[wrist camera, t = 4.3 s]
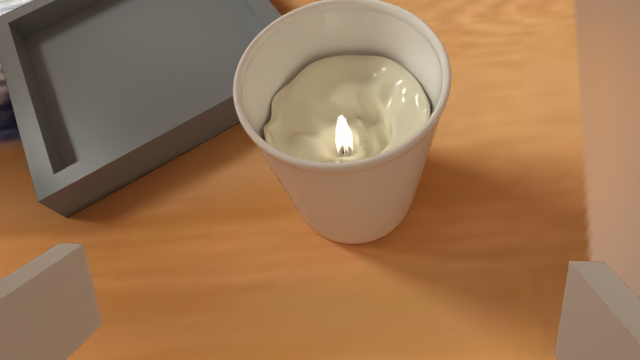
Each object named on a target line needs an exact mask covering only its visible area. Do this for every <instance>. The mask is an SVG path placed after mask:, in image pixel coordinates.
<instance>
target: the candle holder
mask: <svg viewBox="0 0 640 360" xmlns="http://www.w3.org/2000/svg"><path fill="white" fill-rule="evenodd" d="M450 87H451V68H450V62H449V58H448V55H447V52H446V50H445V48H444V46H443V44H442V42H441V40H440V39H439V37H438V36H437V34H436V33H435V32H434V31H433V30H432V29H431V28H430V27H429V26H428V25H427V24H426V23H425V22H424V21H423V20H421V19H420V18H419V17H417V16H416V15H414V14H413V13H411V12H409V11H407V10H405V9H403V8H401V7H399V6H396V5H394V4H391V3H387V2H384V1H380V0H322V1H318V2H314V3H311V4H308V5H305V6H302V7H299V8H297V9H295V10H292V11H290V12H288V13H286V14H285V15H283V16H281V17H279V18H278V19H276V20H275V21H273V22H272V23H271V24H269V25H268V26H267V27H266V28H264V29H263V30H262V31H261V32H260V33H259V34H258V35H257V36H256V37H255V38H254V39H253V41H252V42H251V43H250V44H249V46H248V47H247V49H246V50H245V52H244V53H243V55H242V57H241V59H240V61H239V64H238V66H237V69H236V73H235V77H234V83H233V100H234V105H235V110H236V113H237V116H238V118H239V121H240V123H241V125H242V126H243V128H244V130H245V131H246V133H247V134H248V136H249V137H250V138H251V139H252V140H253V141H254V143H255V144H256V146H257V147H258V149H259V151H260V152H261V154H262V155H263V157H264V159H265V160H266V162H267V163H268V165H269V167H270V168H271V170H272V171H273V173H274V175H275V176H276V178H277V179H278V181H279V183H280V184H281V186H282V188H283V189H284V191H285V192H286V194H287V196H288V197H289V199H290V200H291V202H292V204H293V205H294V207H295V208H296V210H297V211H298V213H299V214H300V216H301V217H302V219H303V220H304V221H305V222H306V223H307V225H308V226H309V227H310V228H312V229H313V230H314V231H315V232H317V233H318V234H320V235H321V236H323V237H325V238H327V239H329V240H332V241H335V242H339V243H345V244H360V243H367V242H371V241H374V240H377V239H379V238H381V237H383V236H385V235H387V234H388V233H390V232H391V231H392V230H394V229H395V228H396V227H397V226H398V225H399V224H400V223H401V222H402V221H403V219H404V218H405V216H406V215H407V213H408V211H409V209H410V207H411V205H412V202H413V200H414V197H415V194H416V191H417V188H418V185H419V182H420V179H421V176H422V173H423V169H424V166H425V163H426V160H427V157H428V154H429V151H430V147H431V144H432V141H433V138H434V135H435V132H436V129H437V125H438V122H439V119H440V116H441V115H442V113H443V110H444V108H445V106H446V103H447V100H448V97H449V93H450Z"/></svg>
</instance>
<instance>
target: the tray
mask: <svg viewBox="0 0 640 360" xmlns="http://www.w3.org/2000/svg"><path fill="white" fill-rule="evenodd" d="M281 16H282V15H281V14H280V13H279V12H278V11H277V9H276V8H275V7H274V6H273V5H272V3H271V2H270V1H269V0H33V1H31V2H29V3H27V4H25V5H22V6H20V7H18V8H16V9H14V10H12V11H10V12H8V13H5V14H3V15H1V16H0V61H1V65H2V69H3V72H4V76H5V80H6V84H7V87H8V91H9V95H10V99H11V103H12V106H13V110H14V114H15V118H16V121H17V125H18V129H19V133H20V136H21V140H22V144H23V148H24V151H25V155H26V159H27V163H28V166H29V170H30V174H31V178H32V181H33V185H34V189H35V193H36V197H37V200H38V202H39V203H41V204H43V205H45V206H46V207H48V208H50V209H52V210H54V211H55V212H57V213H59V214H61V215H62V216H64V217H66V218H68V217H70V216H72V215H73V214H75V213H77V212H79V211H81V210H82V209H84V208H86V207H88V206H90V205H91V204H93V203H95V202H97V201H99V200H100V199H102V198H104V197H106V196H108V195H109V194H111V193H113V192H115V191H117V190H119V189H120V188H122V187H124V186H126V185H128V184H129V183H131V182H133V181H135V180H137V179H138V178H140V177H142V176H144V175H146V174H147V173H149V172H151V171H153V170H155V169H156V168H158V167H160V166H162V165H164V164H165V163H167V162H169V161H171V160H173V159H175V158H176V157H178V156H180V155H182V154H184V153H185V152H187V151H189V150H191V149H193V148H194V147H196V146H198V145H200V144H202V143H203V142H205V141H207V140H209V139H211V138H212V137H214V136H216V135H218V134H220V133H222V132H223V131H225V130H227V129H229V128H231V127H232V126H234V125H236V124H238V123H240V121H239V118H238V116H237V113H236V110H235V105H234V100H233V83H234V77H235V73H236V69H237V66H238V64H239V61H240V59H241V57H242V55H243V53H244V52H245V50H246V49H247V47H248V46H249V44H250V43H251V42H252V41H253V39H254V38H255V37H256V36H257V35H258V34H259V33H260V32H261V31H262V30H263V29H264V28H266V27H267V26H268V25H269V24H271V23H272V22H273V21H275V20H276V19H278V18H279V17H281Z"/></svg>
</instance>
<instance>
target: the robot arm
mask: <svg viewBox="0 0 640 360" xmlns="http://www.w3.org/2000/svg"><path fill="white" fill-rule="evenodd" d="M101 325H102V321H101V317H100V313H99V308H98V304H97V300H96V296H95V291H94V287H93V283H92V278H91V274H90V270H89V266H88V261H87V257H86V253H85V249H84V244H71V243H59V244H58V245H56V246H54V247H53V248H51V249H49V250H48V251H46V252H45V253H43V254H41V255H40V256H38V257H37V258H35V259H33V260H32V261H30V262H28V263H27V264H25V265H24V266H22V267H20V268H19V269H17V270H15V271H14V272H12V273H11V274H9V275H7V276H6V277H4V278H2V279H1V280H0V360H67V359H68V358H69V357H70V356H71V355H72V354H73V353H74V352H75V351H76V350H77V349H78V348H79V347H80V346H81V345H82V344H83V343H84V342H85V341H86V340H87V339H88V338H89V337H90V336H91V335H92V334H93V333H94V332H95V331H96V330H97V329H98V328H99V327H100V326H101ZM554 354H555V356H556V358H557V360H640V298H639V297H638V296H637V295H636V294H635V293H634V292H633V291H632V290H631V289H630V288H629V287H628V286H627V285H626V284H625V283H624V282H623V281H622V280H621V279H620V278H619V277H618V276H617V275H616V274H615V273H614V272H613V271H612V270H611V269H610V268H609V267H608V266H607V265H606V264H605V263H604V262H590V261H569V267H568V273H567V279H566V285H565V291H564V297H563V304H562V310H561V316H560V322H559V328H558V334H557V340H556V347H555V353H554Z"/></svg>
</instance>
